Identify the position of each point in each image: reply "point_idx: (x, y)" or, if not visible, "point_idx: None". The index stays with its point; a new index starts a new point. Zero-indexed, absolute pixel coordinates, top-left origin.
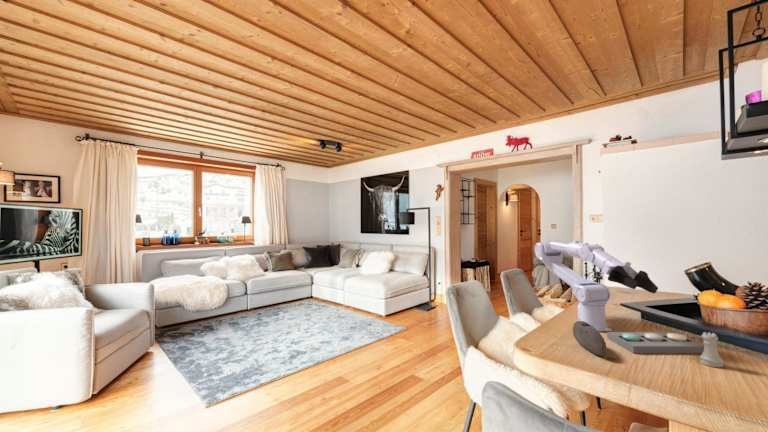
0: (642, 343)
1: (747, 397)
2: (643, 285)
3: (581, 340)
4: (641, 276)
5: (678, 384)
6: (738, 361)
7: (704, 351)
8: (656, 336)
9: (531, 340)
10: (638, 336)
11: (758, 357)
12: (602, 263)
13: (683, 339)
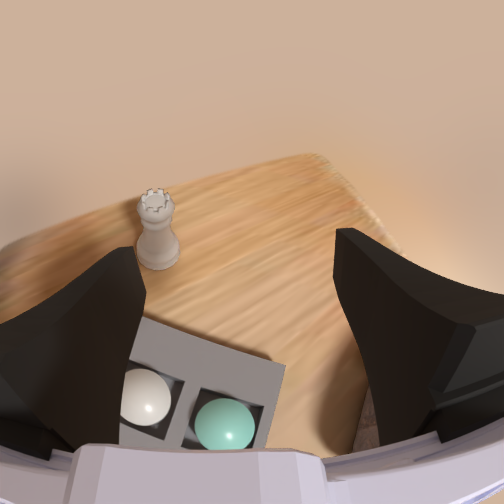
0: (232, 376)
1: (264, 172)
2: (112, 359)
3: None
4: (58, 365)
5: (327, 226)
6: (82, 243)
7: (168, 240)
8: (144, 383)
9: None
10: (209, 407)
11: (21, 241)
12: None
13: None
